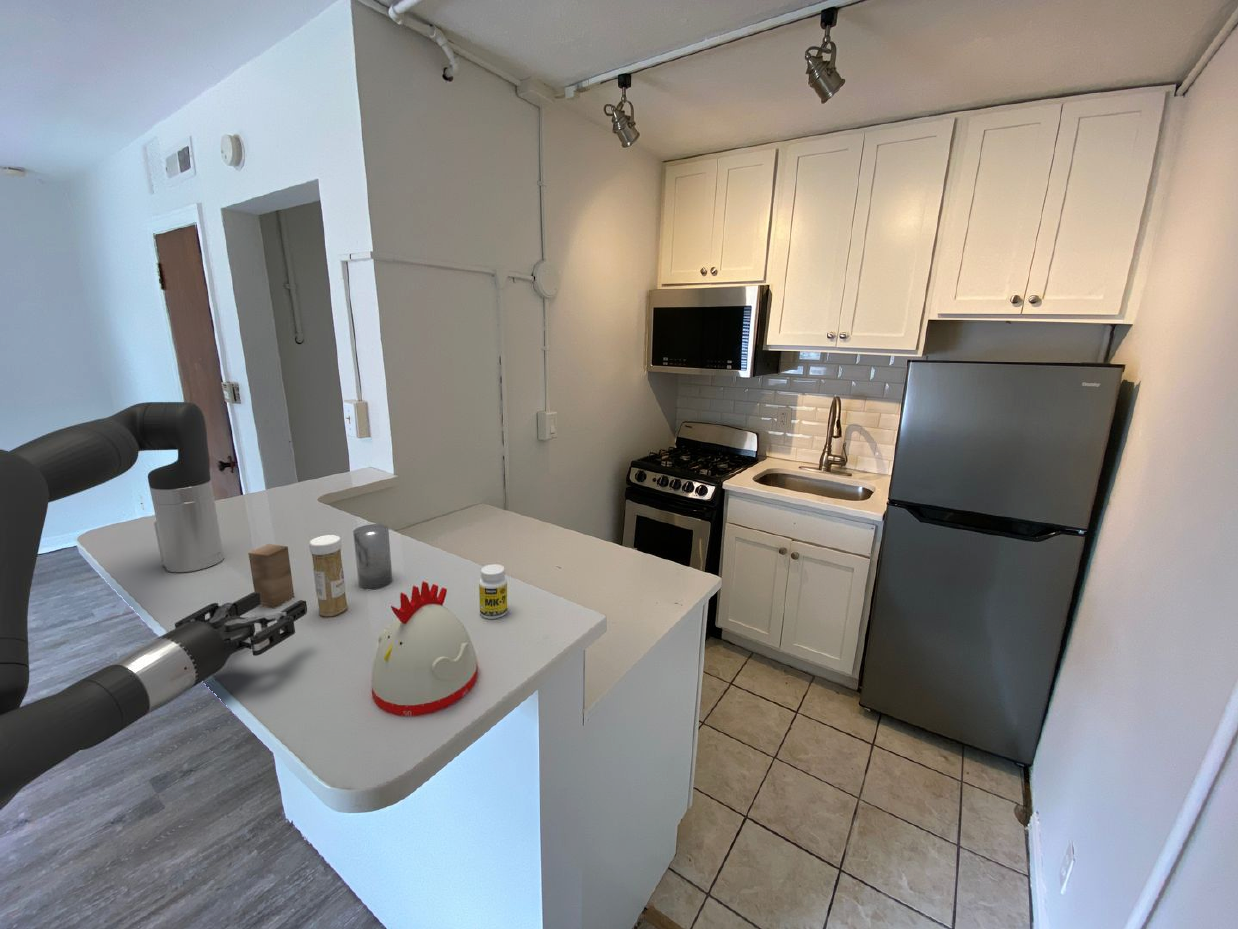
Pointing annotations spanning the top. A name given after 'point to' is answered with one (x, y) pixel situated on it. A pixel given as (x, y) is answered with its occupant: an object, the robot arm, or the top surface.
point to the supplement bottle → (493, 592)
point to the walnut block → (272, 574)
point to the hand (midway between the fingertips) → (281, 601)
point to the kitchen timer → (423, 657)
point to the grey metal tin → (373, 556)
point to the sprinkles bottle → (328, 575)
